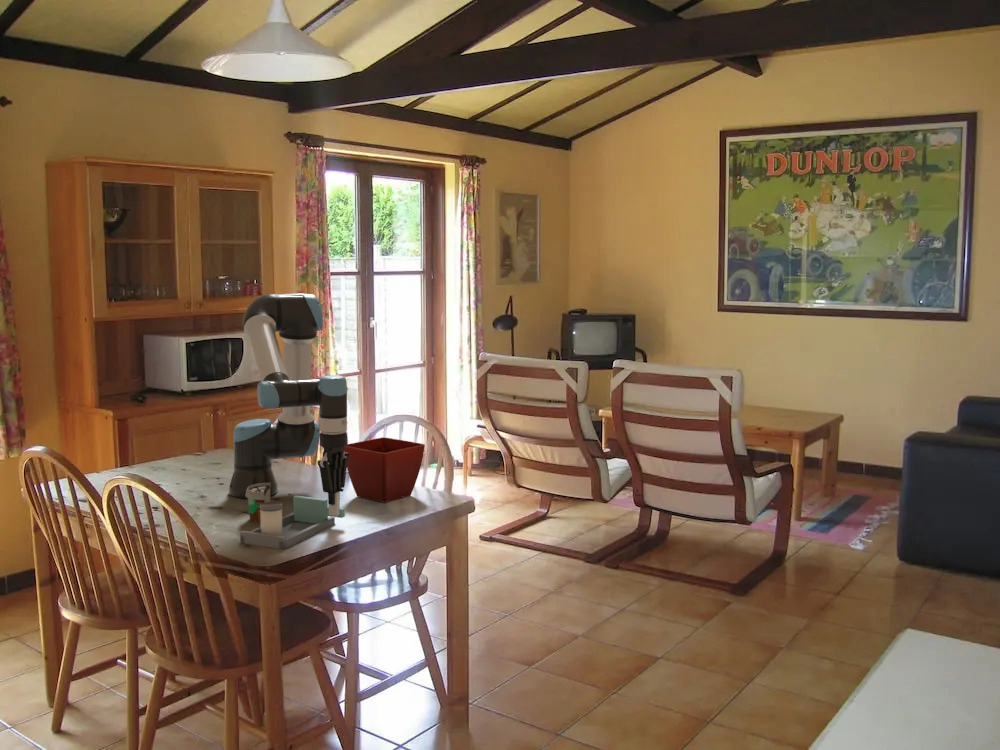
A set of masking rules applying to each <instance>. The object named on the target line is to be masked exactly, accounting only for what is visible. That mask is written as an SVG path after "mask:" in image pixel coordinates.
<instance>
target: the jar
mask: <svg viewBox="0 0 1000 750" xmlns="http://www.w3.org/2000/svg"><path fill="white" fill-rule="evenodd" d="M260 517H261V523H260V527H261V533H263V534H270V535H277V536H283V535H282V517H283V503H282V502H279V501H270V502H265V503H262V504H260Z"/></svg>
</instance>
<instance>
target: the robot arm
mask: <svg viewBox="0 0 1000 750" xmlns="http://www.w3.org/2000/svg"><path fill="white" fill-rule="evenodd" d="M323 327H324V317H323V311H322V306H321V304H320V300H319V298H318V296H316V295H315V294H312V293H303V292H301V293H267V294H263V295H260V296H258V297H256V298H255V299H254V300H253V301H251V302H250V303H249V305H248V306H247V307H246V309H245V311H244V314H243V317H242V328H243V332H244V334H245V336H246V337H247V338H248V339H249V340H250V341H249V342H250V344H251V347H252V352H253V355H254V358H255V362H256V366H257V369H258V374H259V376H260V379H261V380H260V381H259V382H258V383H257V387H256V398H257V403H258V406H259V407H260V408H262V409H282V412H281V413H280V414H278V415H277V422H273V423H272V421H271V420H270V418H255V419H250V420H244V421H241V422H240V423H237V424H236V425H235V426H234V429H233V439H232V442H233V465H234V466H233V468H234V469H233V473H232V476H231V479H230V484H229V487H228V491H229V492H228V494H229V495H230V496H231V497H234V498H240V499H248V498H247V497H246V496H245V495H246V490H247V488H248V487H249V486H251V485H254V484H259V483H270V485H271V489H270V497H271V496H273V495H275V494H277V493H278V491H279V490H278V487H279V486H278V482H277V480H276V477H275V475H274V471H273V469H272V465H273V463H272V461H273V460H280V459H294V458H295V459H296V458H300V459H301V458H305V457H312V456H313V455H315V453H316V452H317V450H318V448H319V446H320V447H322V448H323V452H322V458H321V459H318V460H317V466H318V468H319V473H320V478H321V479H320V480H321V486H322V491H323V493H327V494H328V495H327V499H328V506H329V515H332V516H338V515H340V508H341V506H340V501H341V499H340V498H341V497H340V496H341V495H340V493H341V492H344V488H345V485H346V475H347V461H348V458H349V453H346V452H344V447H345V446H346V445H347V444H348V432H347V431H348V390H349V389H348V384H347V383H348V382H347V378H346V377H345V376H344V375H338V374H337V375H336V374H335V375H332V374H331V375H329V374H328V375H323V376H319V377H315V378H311V377H312V376H311V375H312V373H311V372H312V371H311V370H312V342H313V341H315V339H316V338H317V335H318V334H317V333H318V332H320V331H322V330H323ZM276 332H278V337H279V338H280V339H281V340H282V341H283V354H282V351H281V347H280V345H279V341H278V338H277V334H276ZM315 406H316V407H317V406H318V407H319V422H318V421H317V420H315V416H314V415H313V414H312V413H311V412H310V411H311V410H310V409H311V407H315Z"/></svg>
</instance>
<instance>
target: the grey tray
mask: <svg viewBox="0 0 1000 750" xmlns="http://www.w3.org/2000/svg"><path fill="white" fill-rule="evenodd" d="M335 519H336V517H331V516H328V518H327V519H325V520H323V521H321V522H319V523H317V524H315V523H308V522H301V521H294V511H293V512H291V513H289V514H286V515H284V516H282V535H283V536H277V535H270V534H263V533H261V526H259V527H257V528H254V529H251V530H250V531H248V530H241V531H240V532H239V533H240V536H239V537H240V542H239V544H240V543H241V544H246V545H250V546H251V545H253V546H257V547H264V548H265V547H266V548H272V549H278V550H286V549H288V548H291V547H292V546H294V545H297V544H298V543H301V542H302V541H304V540H307V539H309V538H311V537H313V536H315V535H317V534H319V533H321V532H322V531H326V530H327V529H329V528H331V527H333V526H336V524H335Z"/></svg>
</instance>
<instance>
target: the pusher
mask: <svg viewBox="0 0 1000 750" xmlns="http://www.w3.org/2000/svg"><path fill="white" fill-rule="evenodd" d="M292 501H293V504H292V505H293V512H294V521H301V522H308V523H315V524H317V523H319V522H321V521H323V520H325V519H327V518H329V517H335V518H341V519H343V518H345V516H346V508H344V507H340V515H338V516H332V515H329V504H328V498H319V497H312V496H311V497H309V496H303V495H294V496H293V499H292Z"/></svg>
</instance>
